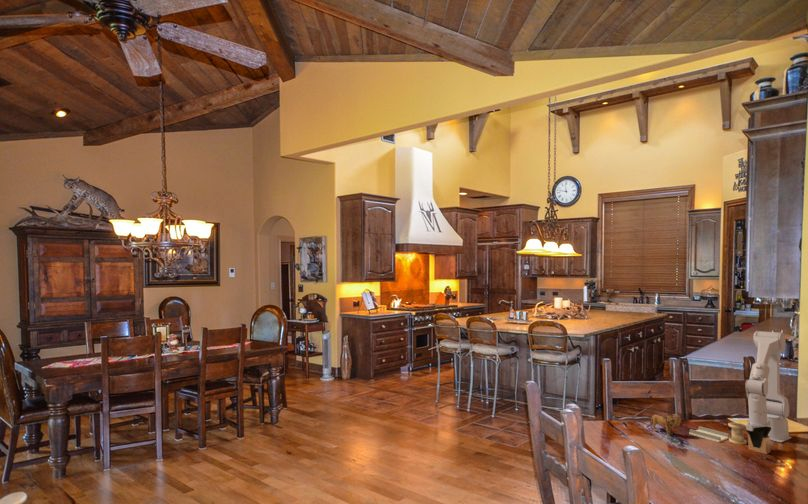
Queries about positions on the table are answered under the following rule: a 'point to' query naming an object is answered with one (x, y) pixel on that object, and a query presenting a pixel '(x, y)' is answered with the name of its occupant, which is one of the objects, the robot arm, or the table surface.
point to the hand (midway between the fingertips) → (759, 446)
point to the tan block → (764, 445)
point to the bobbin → (737, 433)
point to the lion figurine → (666, 422)
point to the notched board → (710, 434)
